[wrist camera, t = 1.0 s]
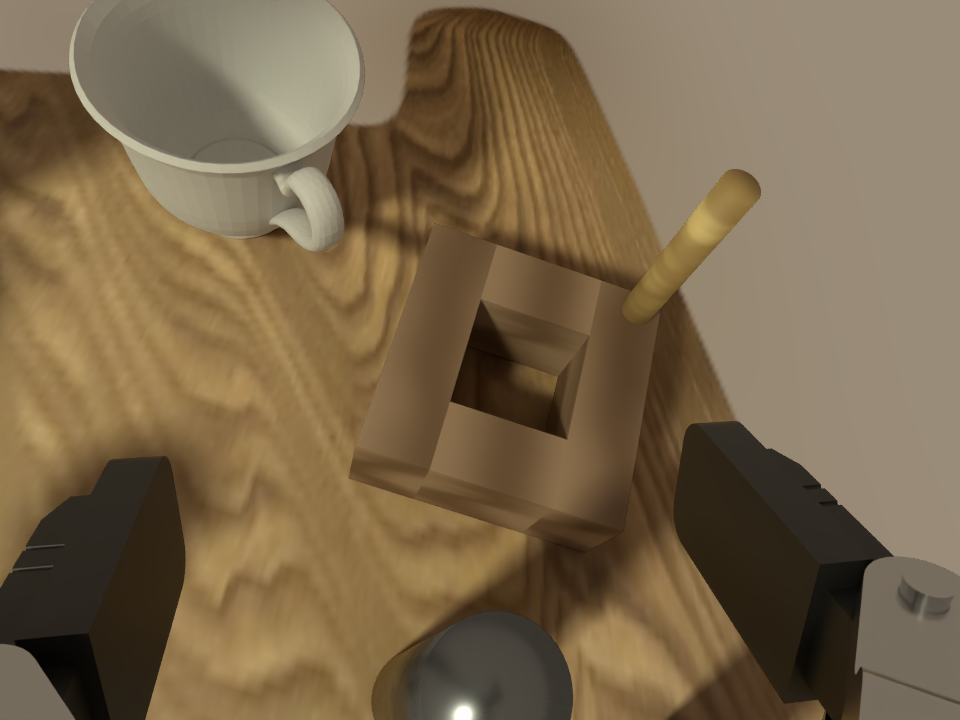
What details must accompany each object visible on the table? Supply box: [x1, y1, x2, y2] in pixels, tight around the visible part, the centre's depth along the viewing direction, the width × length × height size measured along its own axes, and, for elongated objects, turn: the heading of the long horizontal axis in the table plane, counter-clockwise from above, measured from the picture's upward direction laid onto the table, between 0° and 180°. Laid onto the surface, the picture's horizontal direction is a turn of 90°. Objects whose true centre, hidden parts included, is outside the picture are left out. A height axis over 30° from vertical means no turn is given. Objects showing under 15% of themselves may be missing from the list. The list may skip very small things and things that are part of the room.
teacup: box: [69, 0, 365, 252], centre depth 36 cm, size 12×15×10 cm
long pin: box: [372, 611, 573, 720], centre depth 26 cm, size 4×4×15 cm
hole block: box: [349, 169, 761, 553], centre depth 33 cm, size 12×12×15 cm
